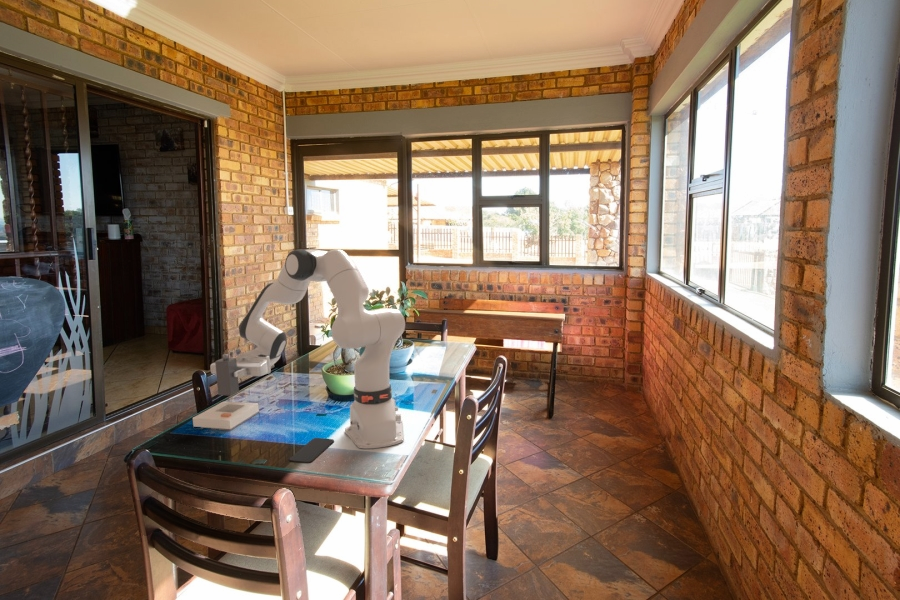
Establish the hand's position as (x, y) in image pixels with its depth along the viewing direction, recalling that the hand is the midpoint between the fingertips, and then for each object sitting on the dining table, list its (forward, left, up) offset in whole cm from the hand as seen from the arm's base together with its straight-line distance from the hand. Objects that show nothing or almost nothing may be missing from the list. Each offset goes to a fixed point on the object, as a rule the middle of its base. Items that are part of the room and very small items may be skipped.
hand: (225, 374), depth 172 cm
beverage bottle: (+19, -51, -16) cm, 57 cm away
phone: (-36, -26, -17) cm, 48 cm away
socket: (-1, +1, -16) cm, 16 cm away
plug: (+1, 0, -7) cm, 7 cm away
